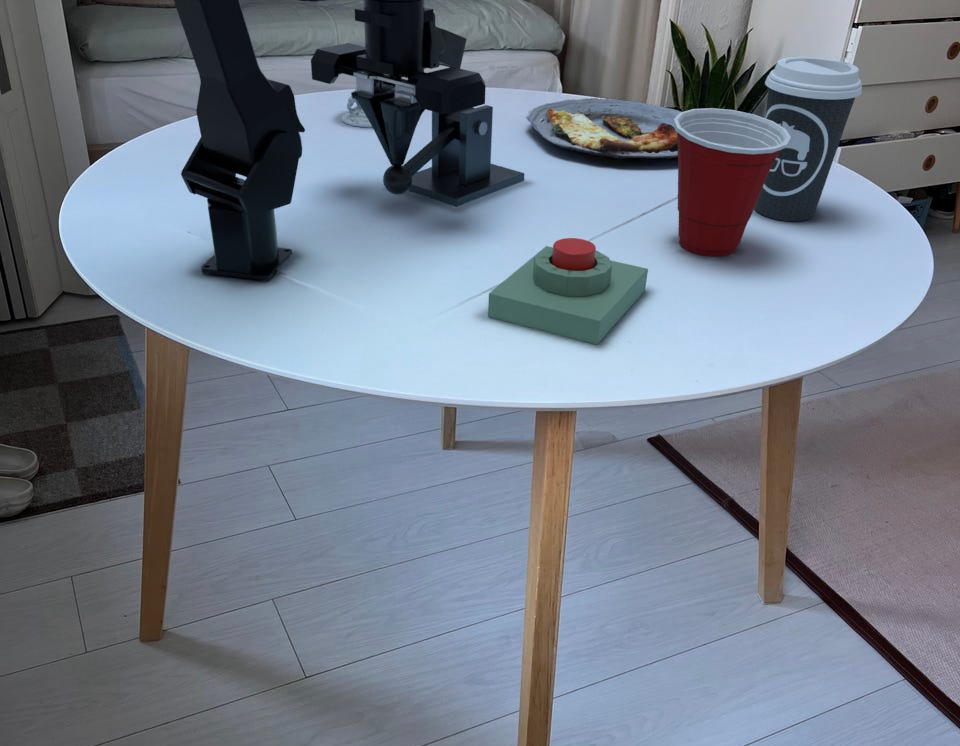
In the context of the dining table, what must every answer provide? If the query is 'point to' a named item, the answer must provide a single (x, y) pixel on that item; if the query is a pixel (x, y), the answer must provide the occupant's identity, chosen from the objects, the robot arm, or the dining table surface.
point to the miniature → (355, 115)
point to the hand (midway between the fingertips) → (397, 165)
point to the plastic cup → (721, 175)
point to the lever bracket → (464, 162)
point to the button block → (568, 296)
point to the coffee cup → (805, 131)
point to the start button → (573, 254)
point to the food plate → (608, 127)
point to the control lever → (422, 157)
